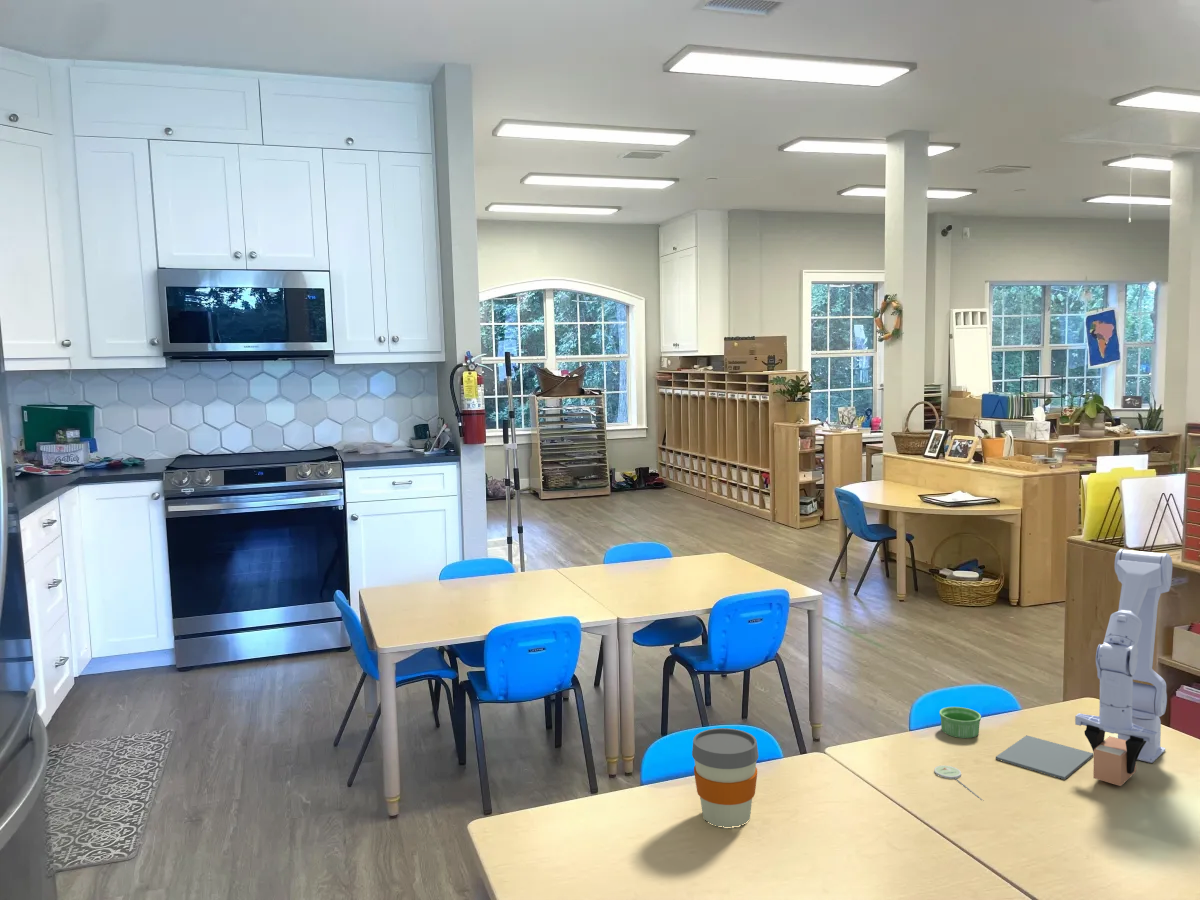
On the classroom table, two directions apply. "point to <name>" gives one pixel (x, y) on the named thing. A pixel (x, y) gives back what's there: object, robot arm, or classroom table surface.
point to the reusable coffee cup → (725, 774)
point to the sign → (950, 774)
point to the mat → (1045, 756)
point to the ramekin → (960, 722)
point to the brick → (1111, 761)
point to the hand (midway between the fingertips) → (1115, 767)
